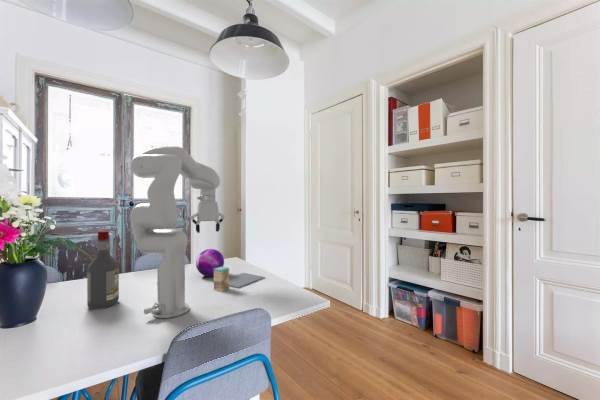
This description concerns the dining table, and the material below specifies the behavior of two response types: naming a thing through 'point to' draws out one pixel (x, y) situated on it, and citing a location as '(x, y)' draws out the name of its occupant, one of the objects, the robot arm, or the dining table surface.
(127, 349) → the dining table surface
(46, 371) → the dining table surface
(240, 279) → the slate mat
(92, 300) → the liquor
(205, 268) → the decorative orb
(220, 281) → the maple block
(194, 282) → the dining table surface
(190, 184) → the robot arm
